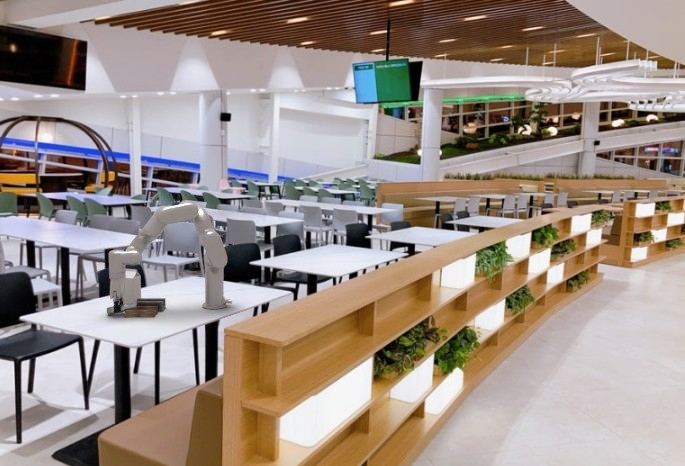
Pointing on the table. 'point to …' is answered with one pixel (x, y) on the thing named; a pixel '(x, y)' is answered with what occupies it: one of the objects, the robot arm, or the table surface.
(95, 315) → the table surface
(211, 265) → the robot arm
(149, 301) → the v block
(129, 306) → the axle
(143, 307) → the brown piece
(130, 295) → the milk carton
